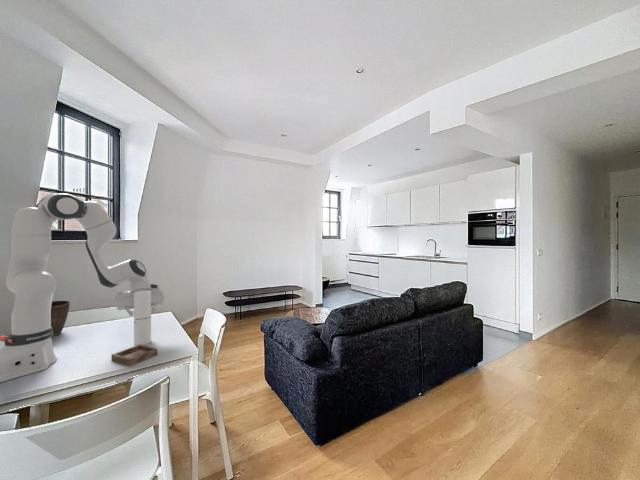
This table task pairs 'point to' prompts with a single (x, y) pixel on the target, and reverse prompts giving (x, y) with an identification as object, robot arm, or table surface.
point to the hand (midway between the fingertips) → (142, 313)
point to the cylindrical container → (142, 317)
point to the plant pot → (59, 315)
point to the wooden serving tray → (134, 355)
